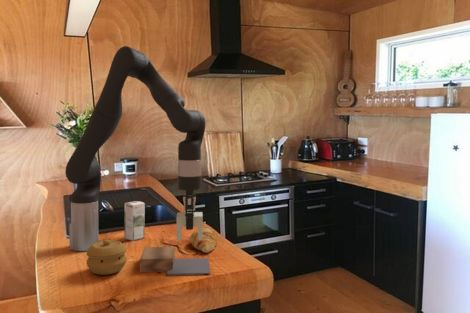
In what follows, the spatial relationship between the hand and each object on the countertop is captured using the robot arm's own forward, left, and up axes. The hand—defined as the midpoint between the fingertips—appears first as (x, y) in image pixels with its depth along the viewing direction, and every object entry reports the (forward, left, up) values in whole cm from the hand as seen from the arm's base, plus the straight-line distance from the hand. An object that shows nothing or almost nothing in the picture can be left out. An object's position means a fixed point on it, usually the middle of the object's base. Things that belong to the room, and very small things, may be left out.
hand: (189, 226), depth 123 cm
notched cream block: (0, 0, -4) cm, 4 cm away
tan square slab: (-10, +3, -13) cm, 17 cm away
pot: (-25, -2, -14) cm, 29 cm away
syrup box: (-22, +33, -13) cm, 42 cm away
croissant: (+5, +22, -14) cm, 26 cm away
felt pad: (0, 0, -13) cm, 13 cm away
